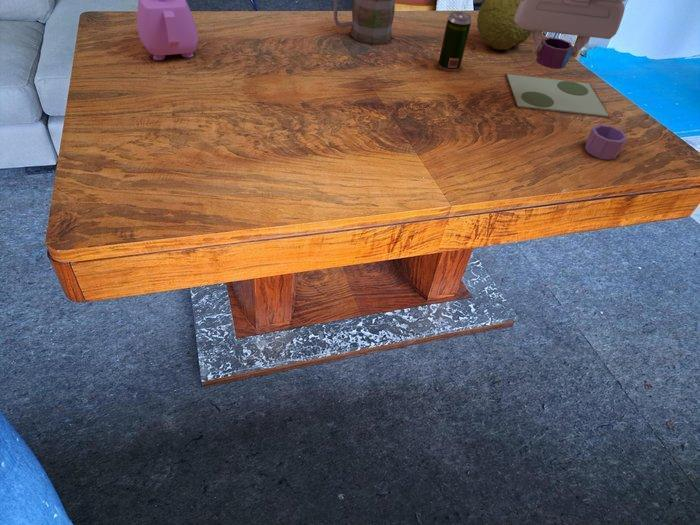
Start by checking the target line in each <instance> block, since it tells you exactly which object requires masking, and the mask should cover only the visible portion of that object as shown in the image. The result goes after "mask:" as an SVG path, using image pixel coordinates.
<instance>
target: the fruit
mask: <svg viewBox="0 0 700 525" xmlns="http://www.w3.org/2000/svg"><path fill="white" fill-rule="evenodd" d="M520 1H521V0H484V1H483V3H481V5H480V8H479V10H478V14H477V18H476V22H477V25H476V29H477V31H478V33H479V36H480V38H481V40H482V41H483V42H484V43H485V44H486V45H487V46H489V47H490V48H492V49H493V50H501V51H503V50H504V51H506V50H507V51H508V50H509V49H511V48H512V47H514V46H515V47H516V46H519V45H521V44H523V43H525V42H526V41H527V40H528V38H530V37H531V35H532V31H533V30H526V29H519V28H518V27H517V25H516V24H515V21H514V17H515V14H516V11H517V8H518V6H519V4H520Z"/></svg>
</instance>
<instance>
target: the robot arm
mask: <svg viewBox="0 0 700 525" xmlns="http://www.w3.org/2000/svg"><path fill="white" fill-rule="evenodd" d="M624 2H626V0H521V1H520V4H519V6H518V8H517V11H516V14H515V17H514V21H515V24H516V25H517V27H518V28H519V29H526V30H533V31H532V33H531V35H532V38H533V42H534V43H533V45H532V49H531V50H532V53H534V54H537V53H541V49H542V47H543V45H542V43H541V41H540V40H539V39H540V38H539V37H542V35H543V32H546V33H551V34H562V35H568V36H569V35H570V36H578V37H579V40H578V41H577V42H576V43H575V44H574V45H572V46H573V47H574V48H573V51H572V53H571V56H570V58H577V57H578V55H579V52H580V50H581V49H583V48H584V47H585V46H586V45H587V44H588V43H589V41H590V39H591V38H595V39H604V40H610V39H612V38H613V37H615V36H616V35H617V33H618V30H619V28H620V26H621V23H622V21H623V18H624V14H625V10H626V9H625V4H624Z"/></svg>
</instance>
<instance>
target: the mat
mask: <svg viewBox="0 0 700 525" xmlns="http://www.w3.org/2000/svg"><path fill="white" fill-rule="evenodd" d="M506 78H507V81H508V83H509V87H510V89H511V92H512V95H513V98H514V100H515V103H516V105H517V108H523V109H532V110H539V111H540V110H541V111H549V112H550V111H551V112H560V113H567V114H577V115H585V116H594V117H603V118H609V116H610V115H609V113H608V112H607V111H606V109H605V107H604V105H603V104H602V103H601V101H600V98H598V95H597V94H596V93H595V91H594V88H592V86H591V84H590V83H589V82H581V81H572V80H563V79H555V78H547V77H546V78H545V77H536V76H528V75H527V76H526V75H519V74H509V73H507V74H506Z"/></svg>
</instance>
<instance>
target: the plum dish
mask: <svg viewBox="0 0 700 525" xmlns="http://www.w3.org/2000/svg"><path fill="white" fill-rule="evenodd" d="M540 42H541V43H542V45H543V47H542V49H541V53H536V58H535V61H536V63H537V64H539V65H540V66H542V67H545V68H548V69H554V70H561V69H565V67H566V66H567V64H569V61H570V59H571V57H570V56H571V53H572V51H573V48H574V47H573V46H574V45H573V44H572V43H571V42H569V41H567V40H564V39H563V38H557V37H544V38H542V39H541V41H540Z"/></svg>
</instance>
